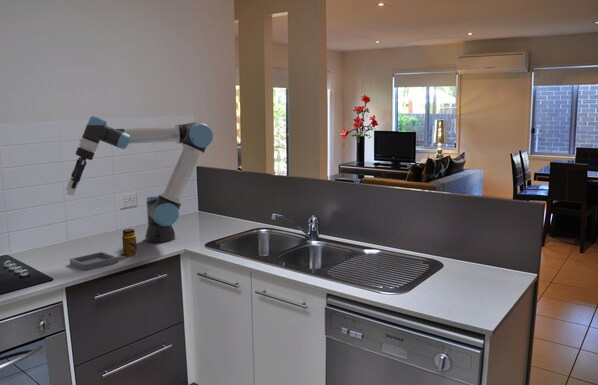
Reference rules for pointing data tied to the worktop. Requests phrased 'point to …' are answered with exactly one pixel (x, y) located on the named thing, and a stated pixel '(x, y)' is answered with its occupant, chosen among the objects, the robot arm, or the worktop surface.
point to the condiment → (128, 244)
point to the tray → (93, 261)
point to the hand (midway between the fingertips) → (69, 192)
